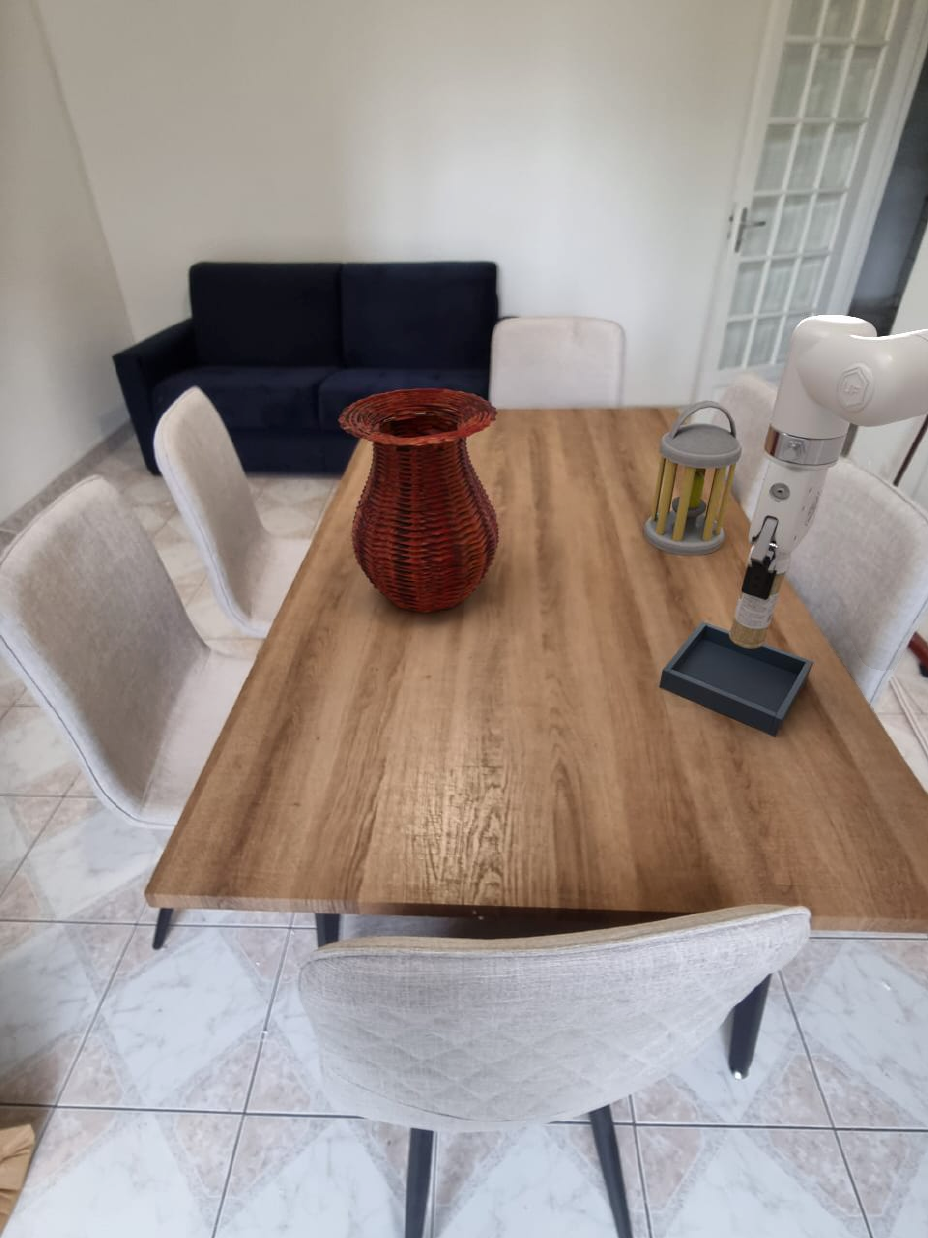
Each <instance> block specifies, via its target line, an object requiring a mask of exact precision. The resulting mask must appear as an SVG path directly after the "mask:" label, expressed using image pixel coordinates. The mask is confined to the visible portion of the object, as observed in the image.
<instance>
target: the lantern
mask: <svg viewBox="0 0 928 1238" xmlns="http://www.w3.org/2000/svg"><path fill="white" fill-rule="evenodd" d="M709 408H710V409H711V408H712V409H716V410H719V411H721V412H722V413H723V414H724V415H725V416H726V418H727V421H728V423H729V428H730V430H728V429H726V428H724V427H721V426H719V425H716V424H713V423H706V422H691V423H686V424H683V423H684V422H685V421H686V420H687V419H688V418H689V417H690V416H692V415H693V414H695V413H696V412H698V411H700V410H704V409H709ZM742 450H743V447H742V445H741V442H740V440H739V439H738V438H737V429H736V423H735V420H734V418H733V416H732V414H731V413H730V411H729V410H728V409H727V407H725V406H724V405H722V404H721V403H720V402H718V401H715V400H714V401H713V400H708V399H707V400H702V401H697V402H695V403H693V404H691V405H690V406H688V407H686V408H685V409H684V410H683V411H682V412H681V413H680V414H679V415H678V416H677V418H676V419H675V421H674V423H673V424H672V426H671V428H670V429H669V432H666V433H665V434H664V435H663V436H662V438H661V439H660V443H659V454H660V459H659V460H660V461H659V466H658V471H657V472H658V473H657V478H656V485H655V491H654V497H653V504H652V510H651V516H650V517H649V518H648V519H647V520H646V522H645V523H644V528H643V536H644V538H645V540H646V541H647V542H648V543H649V544H650V545H652V546H653V547H655V548H656V549H658V550H661V551H663V552H666V553H668V554H669V553H670V554H673V555H678V556H688V557H695V556H696V557H697V556H704V555H705V556H706V555H708V554H712V553H714V552H716V551H717V550H718V549H720V548H721V547H722V545H723V543H724V541H725V537H726V536H725V531H724V528H723V527H722V526H723V523H724V517H725V514H726V509H727V505H728V501H729V496H730V493H731V488H732V483H733V480H734V474H735V472H736V471H735V470H736V467H737V463H738V462H739V460H740V459H741V455H742ZM679 465H680V466H682V467H684V472H683V479H682V483H681V488H680V495H679V496H677V497H675V498H673V495H674V488H675V484H676V483H675V482H676V476H677V471H678V466H679ZM728 467H729V468H728ZM727 468H728V472H727ZM665 469H666V470H665ZM711 469H714V474H713V478H712V483H711V487H710V492H709V497H708V500H707V503H706V502H705V501H704V500H702V495H703V490H704V484H705V477H706V471H707V470H711ZM726 472H727V478H726V481H725V476H726ZM664 476H665V477H664ZM724 481H725V484H724ZM723 485H725V486H724V490H723ZM662 487H663V488H662ZM722 490H723V494H722ZM721 495H722V499H721V503H720V498H721ZM672 498H673V499H672ZM719 503H720V508H719V513H718V517H717V519H716V516H717V512H718V507H719ZM659 506H660V507H659ZM671 508H672V509H671ZM704 513H705V514H704Z"/></svg>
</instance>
